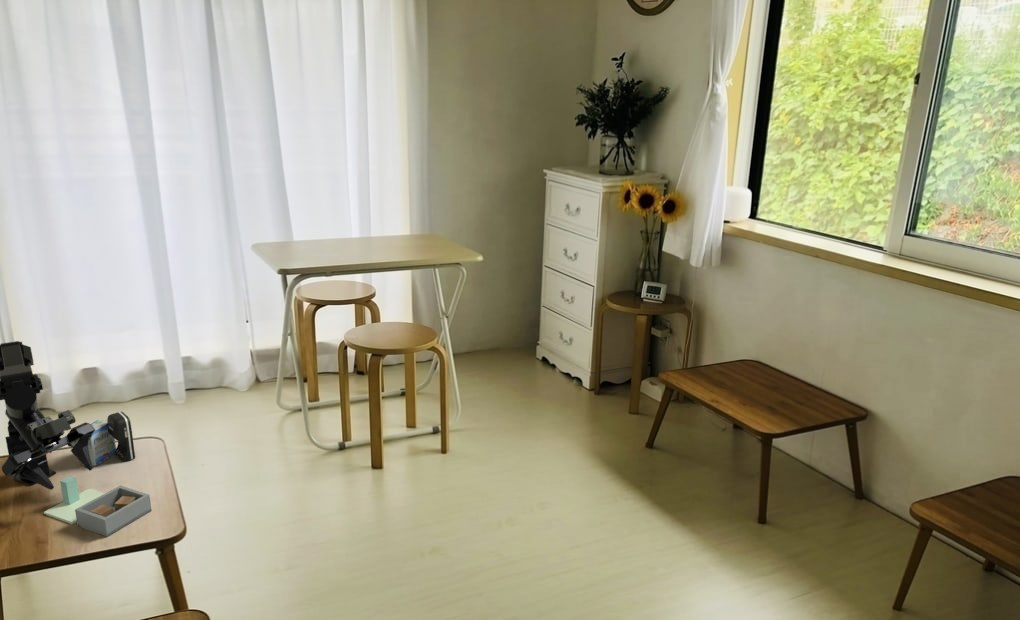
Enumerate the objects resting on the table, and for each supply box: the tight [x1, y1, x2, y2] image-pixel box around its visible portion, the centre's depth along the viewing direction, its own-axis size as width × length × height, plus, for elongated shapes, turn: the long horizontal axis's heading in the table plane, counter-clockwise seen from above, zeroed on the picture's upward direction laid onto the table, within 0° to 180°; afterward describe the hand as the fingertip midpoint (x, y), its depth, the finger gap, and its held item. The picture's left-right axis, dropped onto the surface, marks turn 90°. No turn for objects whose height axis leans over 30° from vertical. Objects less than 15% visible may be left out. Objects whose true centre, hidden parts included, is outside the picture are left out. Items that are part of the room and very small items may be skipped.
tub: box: [75, 485, 153, 538], centre depth 160 cm, size 9×11×4 cm
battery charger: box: [106, 411, 136, 462], centre depth 185 cm, size 7×4×11 cm, turn 45°
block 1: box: [90, 505, 114, 517], centre depth 158 cm, size 3×3×3 cm
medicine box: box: [79, 419, 117, 467], centre depth 184 cm, size 8×4×9 cm, turn 170°
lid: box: [43, 475, 105, 525], centre depth 164 cm, size 9×11×6 cm
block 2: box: [115, 496, 136, 511], centre depth 161 cm, size 3×3×3 cm
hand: (72, 478), depth 163 cm, fingers open, 9 cm apart
